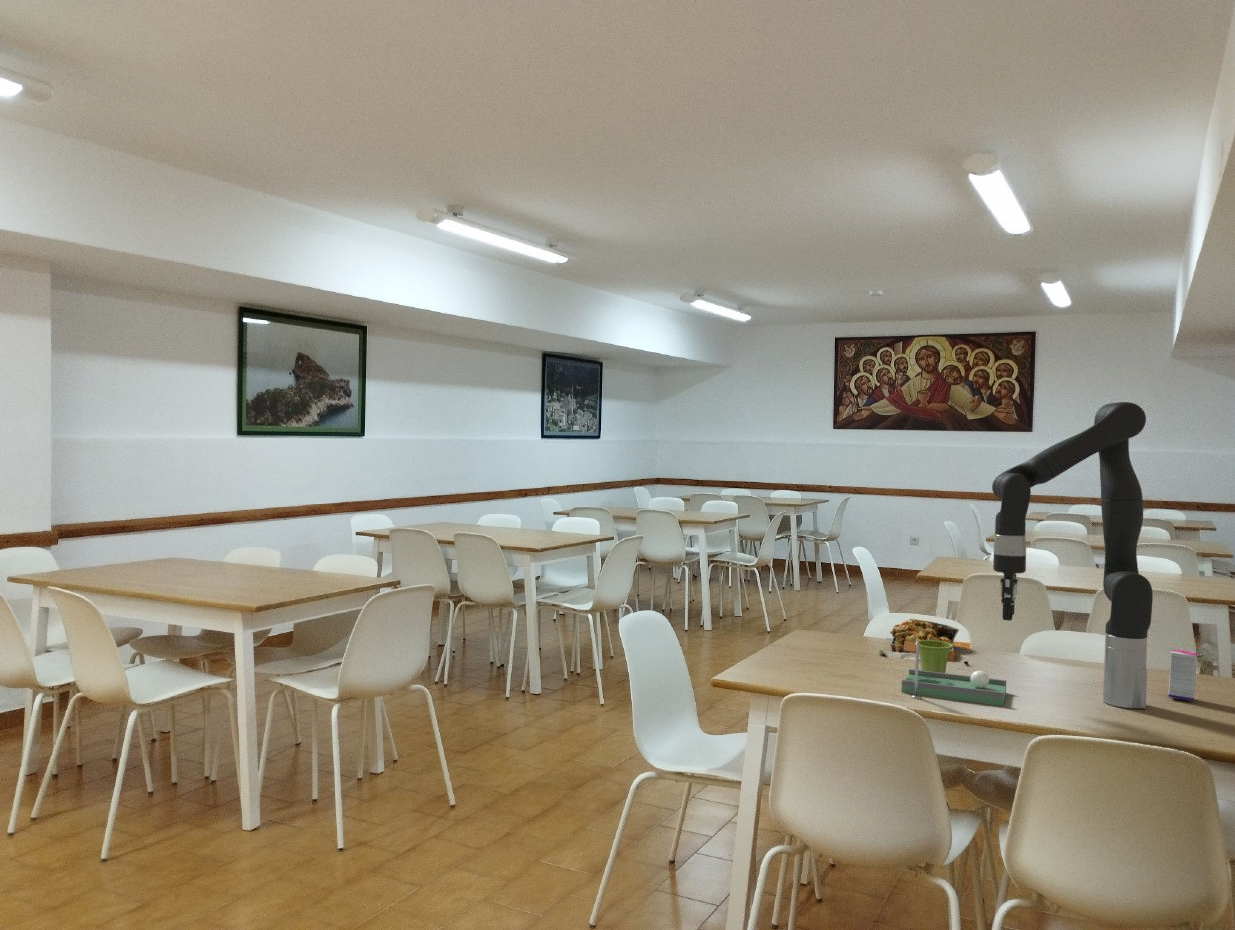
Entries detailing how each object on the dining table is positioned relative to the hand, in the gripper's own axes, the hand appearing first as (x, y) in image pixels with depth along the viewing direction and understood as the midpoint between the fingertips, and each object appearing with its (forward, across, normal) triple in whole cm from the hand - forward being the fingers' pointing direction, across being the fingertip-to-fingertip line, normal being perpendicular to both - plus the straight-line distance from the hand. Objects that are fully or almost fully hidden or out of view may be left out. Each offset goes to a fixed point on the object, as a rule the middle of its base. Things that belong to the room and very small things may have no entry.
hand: (1008, 617), depth 235 cm
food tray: (+21, +49, +26) cm, 59 cm away
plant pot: (+20, +16, +20) cm, 32 cm away
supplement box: (+21, +26, -40) cm, 52 cm away
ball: (+16, -1, +6) cm, 17 cm away
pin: (+20, -12, +20) cm, 31 cm away
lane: (+20, -2, +12) cm, 24 cm away
